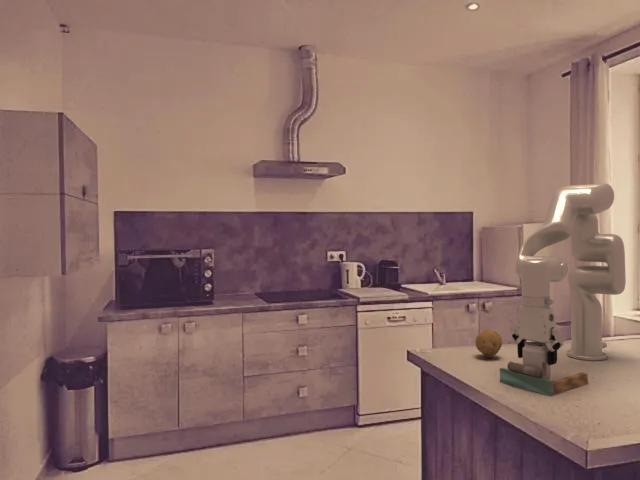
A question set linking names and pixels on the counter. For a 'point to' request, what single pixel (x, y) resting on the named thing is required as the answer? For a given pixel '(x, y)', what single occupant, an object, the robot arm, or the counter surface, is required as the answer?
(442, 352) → the counter surface
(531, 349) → the can
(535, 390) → the bay
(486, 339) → the natural sponge
